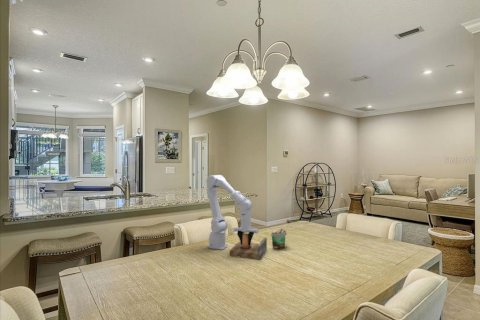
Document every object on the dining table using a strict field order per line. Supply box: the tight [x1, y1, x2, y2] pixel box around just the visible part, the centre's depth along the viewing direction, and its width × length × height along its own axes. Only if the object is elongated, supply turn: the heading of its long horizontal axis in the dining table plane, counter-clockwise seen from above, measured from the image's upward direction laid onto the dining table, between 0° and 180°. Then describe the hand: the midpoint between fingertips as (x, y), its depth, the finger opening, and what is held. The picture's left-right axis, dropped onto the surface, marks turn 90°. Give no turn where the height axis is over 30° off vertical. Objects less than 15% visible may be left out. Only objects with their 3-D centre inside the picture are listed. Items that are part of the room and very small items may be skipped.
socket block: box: [229, 237, 268, 260], centre depth 151 cm, size 18×16×7 cm
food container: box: [271, 228, 288, 250], centre depth 159 cm, size 12×6×10 cm, turn 143°
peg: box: [242, 232, 249, 249], centre depth 151 cm, size 4×4×9 cm
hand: (245, 244), depth 152 cm, fingers closed on peg, 4 cm apart
